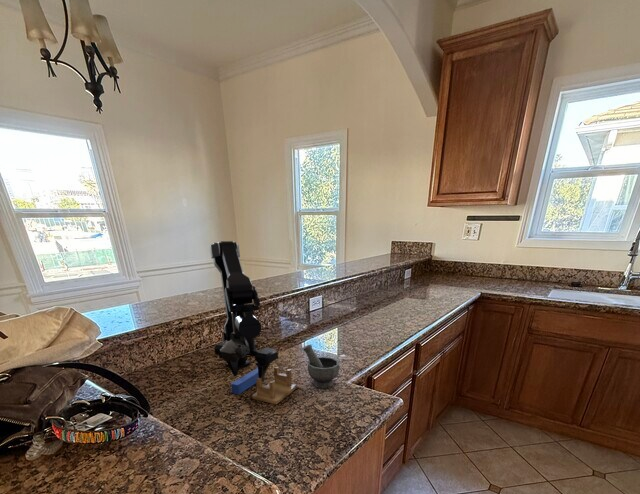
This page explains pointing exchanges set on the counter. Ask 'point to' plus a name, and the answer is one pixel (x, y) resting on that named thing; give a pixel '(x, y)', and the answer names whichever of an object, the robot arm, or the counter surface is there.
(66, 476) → the counter surface
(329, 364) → the mortar and pestle
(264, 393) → the holder
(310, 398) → the counter surface
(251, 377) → the blue rectangular block
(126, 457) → the counter surface
